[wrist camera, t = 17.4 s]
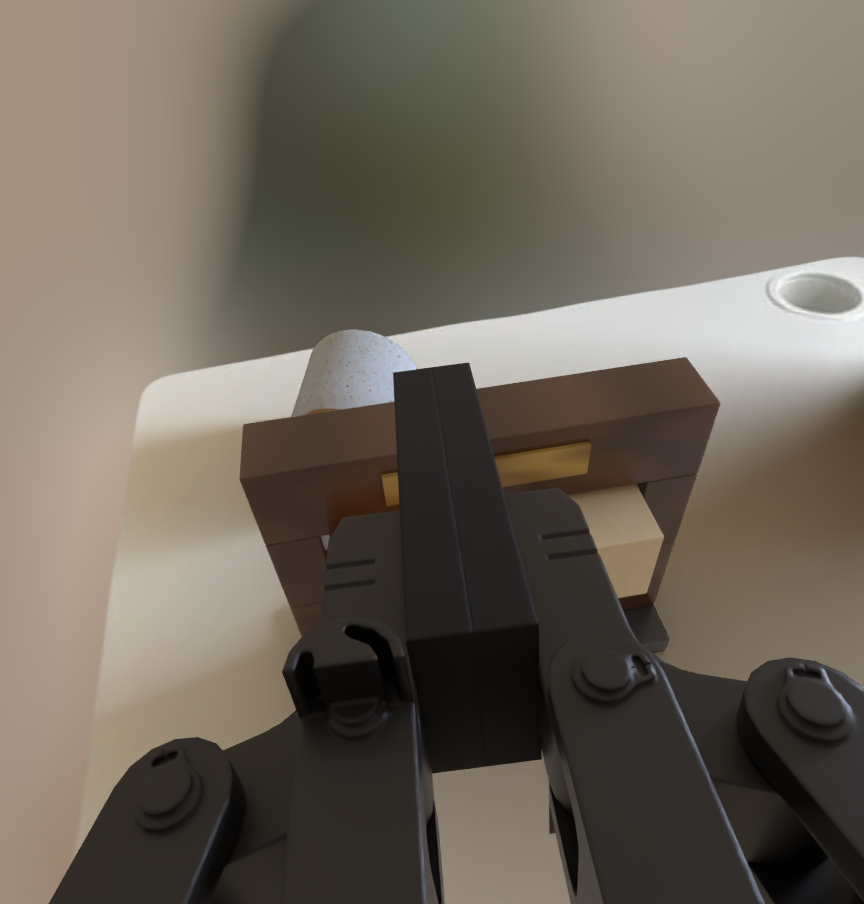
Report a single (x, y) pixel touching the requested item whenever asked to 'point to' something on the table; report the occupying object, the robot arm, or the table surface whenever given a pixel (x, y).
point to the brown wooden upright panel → (516, 455)
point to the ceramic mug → (350, 372)
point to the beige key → (623, 535)
